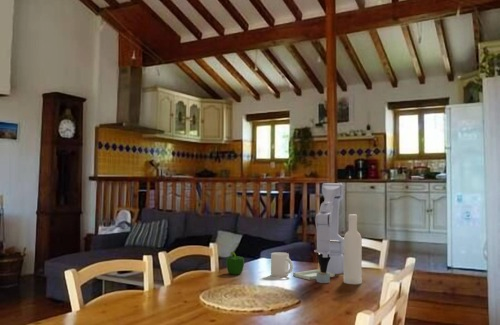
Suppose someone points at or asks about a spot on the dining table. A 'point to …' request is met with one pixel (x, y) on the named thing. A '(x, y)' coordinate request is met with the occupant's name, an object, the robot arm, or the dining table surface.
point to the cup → (323, 278)
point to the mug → (280, 264)
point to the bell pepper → (235, 264)
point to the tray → (310, 274)
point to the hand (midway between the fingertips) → (323, 271)
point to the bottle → (352, 253)
